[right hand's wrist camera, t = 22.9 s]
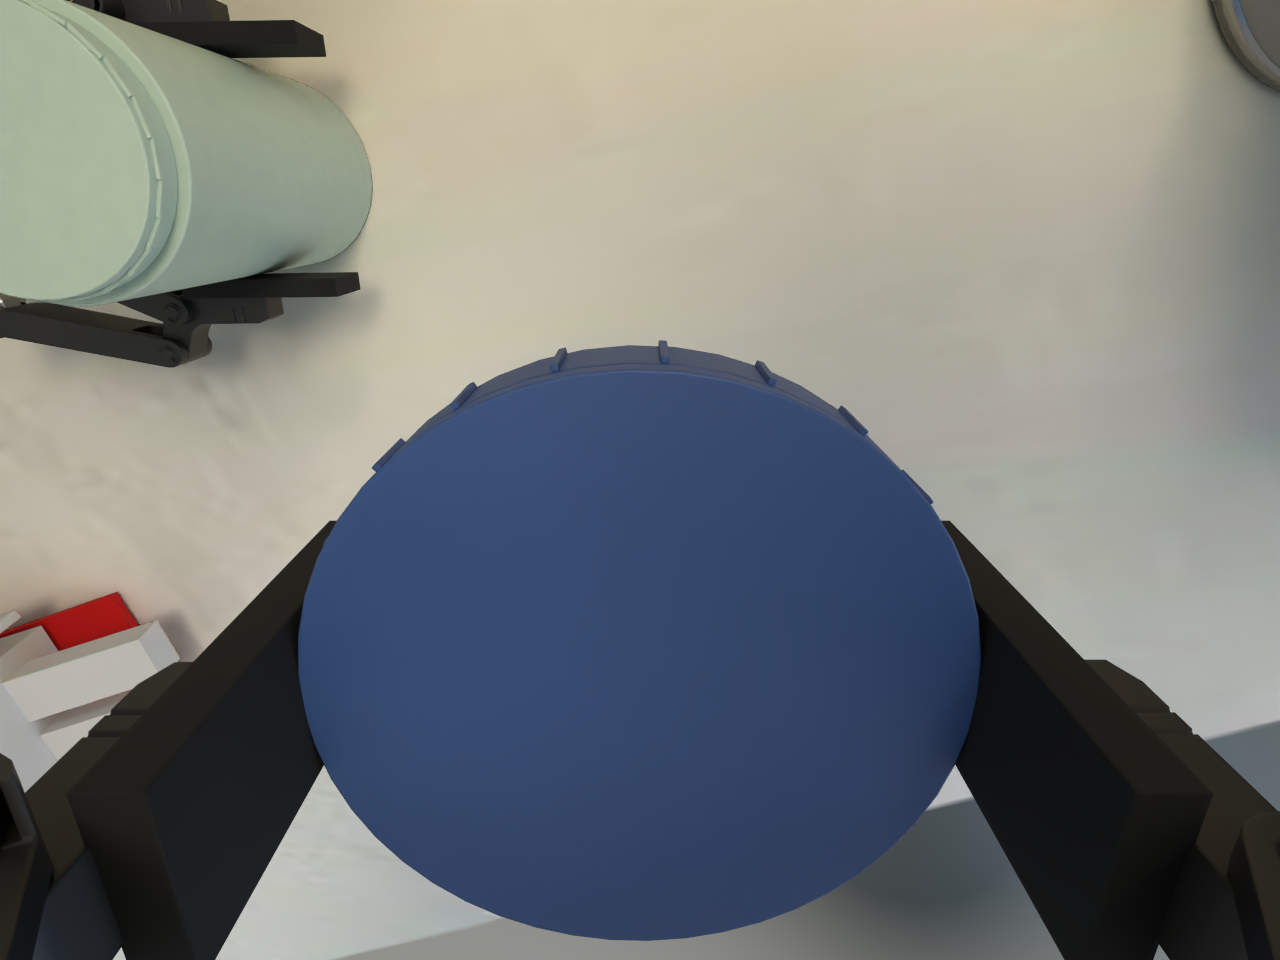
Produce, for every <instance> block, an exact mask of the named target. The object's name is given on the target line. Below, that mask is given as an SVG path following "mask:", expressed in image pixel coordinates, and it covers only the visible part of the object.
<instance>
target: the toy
mask: <svg viewBox="0 0 1280 960" xmlns="http://www.w3.org/2000/svg"><path fill="white" fill-rule="evenodd" d="M20 618H21V616H20V615H19V614H18V612H17V611H16V610H13V611H10V612H8V613H6V614H3V615H1V616H0V753H1V754H3V755H4V756H6V757H8V758H9V759H11V760H12V761H13V764H14V767H15V769H16V772H17V774H18V777H19V779H20V782H21V784H22V787H23V790H24V792H26V791H27V790H28V789H29V788H30V787H31V786H32V785H33V784H34V783H36V782H37V781H38V780H39V779H40V778H41V777H42V776H43V775H44V774H45V773H46V772H47V771H48V770H49V769H50V768H51V767H52V766H53V765H54V764H55V763H56V762H57V761H58V760H59V759H60V758H61V757H63V756H64V755H65V754H66V753H67V752H68V751H69V750H70V749H71V748H72V747H73V746H74V745H75V744H76V743H77V742H78V741H79V740H80V739H81V738H82V737H87V736H88V731H89V730H91V729H92V728H93V727H94V726H95V725H96V724H97V723H98V722H99V721H100V720H101V719H102V718H103V717H104V716H105V715H110V713H111V709H112V708H113V707H114V706H115V705H116V704H118V703H119V702H120V701H121V700H122V699H123V698H124V697H125V696H126V695H127V694H128V693H129V692H130V691H131V690H132V689H133V688H134V687H135V686H136V685H137V684H139V683H140V682H142V681H144V680H145V679H147V678H149V677H151V676H152V675H154V674H156V673H157V672H159V671H161V670H162V669H164V668H166V667H167V666H169V665H171V664H172V663H174V662H178V661H179V659H180V657H179V655H178V654H177V652H176V650H175V649H174V647H173V645H172V644H171V642H170V640H169V639H168V637H167V635H166V634H165V632H164V630H163V629H162V627H161V625H160V624H159V622H158V620H156V621H153V622H149V623H146V624H143V625H140V626H138V624H137V623H136V621H135V620H134V618H133V616H132V615H131V613H130V612H129V610H128V609H127V607H126V606H125V604H124V603H123V601H122V599H121V598H120V596H119V595H118V593H117V592H116V593H113V594H110V595H107V596H104V597H101V598H98V599H95V600H93V601H90V602H87V603H84V604H81V605H78V606H75V607H72V608H70V609H67V610H64V611H61V612H58V613H55V614H52V615H49V616H46V617H44V618H41V619H38V620H35V621H32V622H29V623H26V624H23V625H21V626H18V627H15V628H12V629H9V630H6V631H4V630H5V629H7V628H8V627H9V626H11V625H12V624H13V623H15V622H16V621H17V620H18V619H20Z"/></svg>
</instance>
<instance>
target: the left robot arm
mask: <svg viewBox="0 0 1280 960" xmlns="http://www.w3.org/2000/svg"><path fill="white" fill-rule="evenodd" d="M66 1H71V0H66ZM71 2H72V3H75V4H78V5H80V6H83V7H86V8H89V9H92V10H95V11H98V12H100V13H103V14H106V15H109V16H112V17H115V18H118V19H120V20H123V21H126V22H129V23H132V24H135V25H138V26H140V27H143V28H146V29H149V30H152V31H155V32H157V33H160V34H163V35H166V36H169V37H172V38H175V39H177V40H180V41H183V42H186V43H189V44H192V45H195V46H197V47H200V48H203V49H206V50H209V51H212V52H215V53H217V54H220V55H223V56H226V57H229V58H268V57H326V52H325V45H324V39H323V35H321V34H319V33H317V32H315V31H313V30H312V29H310V28H308V27H306V26H304V25H302V24H300V23H298V22H296V21H294V20H271V21H230V19H229V13H228V8H227V5H225V4H223V3H221V2H219V1H216V0H73V1H71ZM357 290H360V283H359V276H358V272H345V273H271V274H258V275H253V276H248V277H242V278H237V279H232V280H227V281H222V282H217V283H211V284H206V285H201V286H196V287H191V288H186V289H180V290H175V291H170V292H165V293H160V294H155V295H149V296H144V297H139V298H134V299H129V300H123V301H118V303H120V304H122V305H125V306H127V307H129V308H132V309H134V310H137V311H139V312H141V313H144V314H146V315H149V316H151V317H153V318H156V319H158V320H160V321H163V322H164V324H159V323H153V322H148V321H143V320H137V319H132V318H127V317H121V316H116V315H111V314H105V313H100V312H95V311H89V310H84V309H79V308H73V307H68V306H63V305H57V304H50V303H28V304H26V299H24V298H19V297H14V296H9V295H5V294H2V293H0V338H4V337H7V338H12V339H18V340H23V341H28V342H34V343H39V344H45V345H50V346H56V347H61V348H67V349H72V350H77V351H83V352H88V353H94V354H99V355H105V356H110V357H116V358H121V359H126V360H132V361H137V362H143V363H148V364H154V365H159V366H165V367H176V366H178V365H181V364H184V363H187V362H190V361H193V360H196V359H198V358H201V357H204V356H206V355H208V354H209V353H210V352H211V350H212V343H211V340H210V339H209V337H208V333H209V328H210V326H211V324H235V323H261V322H264V321H267V320H270V319H273V318H276V317H278V316H280V315H282V314H284V312H283V306H282V301H281V297H338V296H341V295H344V294H347V293H350V292H354V291H357Z"/></svg>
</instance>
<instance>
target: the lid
mask: <svg viewBox="0 0 1280 960" xmlns="http://www.w3.org/2000/svg"><path fill="white" fill-rule="evenodd" d="M867 433H868V431H867V429H866V428H865V427H864V426H863V425H862V424H861V423H860V422H859V421H858V420H857V419H856V418H855V417H854V416H853V415H852V414H851V413H850V412H849V411H848V410H847V409H845V408H844V407H843V406H841V407H840V408H839V409H838V410H837V409H836V408H834V407H833V406H831V405H830V404H828V403H827V402H825V401H824V400H822V399H821V398H819V397H817V396H816V395H814V394H813V393H811V392H810V391H808V390H807V389H805V388H804V387H802V386H800V385H798V384H796V383H794V382H791V381H789V380H787V379H785V378H783V377H781V376H778V375H776V374H774V373H772V372H771V371H770V370H769V369H768V368H767V366H766V365H765V364H764V362H761V361H758V360H757V362H756V364H755V366H754V365H751V364H748V363H745V362H742V361H738V360H735V359H732V358H729V357H725V356H722V355H718V354H713V353H707V352H701V351H695V350H689V349H683V348H677V347H668V346H667V341H661V340H660V341H659V347H658V346H630V345H629V346H618V347H608V348H597V349H587V350H581V351H576V352H572V353H568V354H567V350H566V348H562V349H559V350H558V351H557V353H556V355H555V357H550V358H546V359H542V360H538V361H536V362H533V363H530V364H528V365H525V366H522V367H520V368H517V369H514V370H512V371H509V372H506V373H504V374H501V375H499V376H497V377H495V378H493V379H491V380H489V381H487V382H486V383H484V384H482V385H480V386H478V387H477V386H476V384H475V383H474V382H472V383H471V384H469V385H468V386H467V387H466V388H465V389H464V390H463V391H462V392H461V393H460V394H459V395H458V396H457V397H456V398H455V400H454V401H453V402H452V403H451V404H449V405H448V406H447V407H445V408H444V409H442V410H441V411H440V412H438V413H437V414H436V415H434V416H433V417H432V418H430V419H429V420H428V421H426V422H425V423H424V424H423V425H422V426H421V427H420V428H419V429H418V430H417V431H416V432H415V433H414V434H413V435H412V436H411V437H410V438H409V439H408V440H407V441H406V442H405V441H404V440H403V439H400V440H399V441H398V442H397V443H396V444H395V445H394V446H393V447H392V448H391V449H390V450H389V451H388V452H387V453H385V454H384V455H383V456H382V457H381V458H380V459H379V460H378V461H377V462H376V463H375V465H374V466H373V467H372V469H373V470H374V471H376V473H375V474H374V475H373V476H372V477H371V478H370V479H369V480H368V481H367V482H366V483H365V484H364V485H363V486H362V488H361V489H360V490H359V492H358V493H357V495H356V496H355V497H354V499H353V500H352V501H351V503H350V504H349V505H348V507H347V508H346V509H345V511H344V512H343V513H342V515H341V516H340V517H339V519H338V520H337V521H336V523H335V525H334V527H333V529H332V531H331V533H330V535H329V536H328V537H327V538H326V539H325V541H324V544H323V548H322V550H321V552H320V554H319V556H318V558H317V561H316V564H315V567H314V570H313V573H312V576H311V579H310V582H309V585H308V588H307V591H306V594H305V597H304V603H303V609H302V615H301V621H300V627H299V634H298V676H299V681H300V687H301V692H302V697H303V702H304V708H305V713H306V717H307V721H308V725H309V728H310V731H311V735H312V738H313V741H314V744H315V747H316V749H317V751H318V753H319V755H320V757H321V759H322V761H323V763H324V765H325V767H326V769H327V771H328V774H329V776H330V778H331V779H332V781H333V782H334V784H335V785H336V787H337V788H338V790H339V791H340V793H341V794H342V796H343V797H344V799H345V800H346V802H347V803H348V805H349V806H350V808H351V809H352V811H353V812H354V813H355V814H356V815H357V816H358V817H359V819H360V820H361V821H362V822H363V823H364V824H365V825H366V827H367V828H368V829H369V830H370V831H371V832H372V833H373V835H374V836H375V837H376V838H377V839H378V840H379V841H381V842H382V843H383V844H384V845H385V846H386V847H387V848H388V849H389V850H391V851H392V852H393V853H394V854H395V855H396V856H397V857H398V858H399V859H401V860H402V861H403V862H404V863H406V864H407V865H408V866H410V867H411V868H413V869H414V870H415V871H417V872H418V873H420V874H421V875H422V876H424V877H425V878H427V879H428V880H430V881H431V882H432V883H434V884H436V885H437V886H439V887H441V888H443V889H445V890H446V891H448V892H450V893H452V894H454V895H455V896H457V897H459V898H461V899H463V900H464V901H466V902H469V903H471V904H473V905H476V906H478V907H480V908H483V909H485V910H487V911H489V912H492V913H494V914H496V915H499V916H501V917H505V918H508V919H511V920H514V921H517V922H520V923H524V924H527V925H530V926H533V927H536V928H541V929H546V930H550V931H555V932H560V933H564V934H569V935H574V936H583V937H591V938H600V939H608V940H641V941H651V940H666V939H680V938H690V937H695V936H702V935H708V934H714V933H720V932H725V931H729V930H733V929H737V928H741V927H744V926H748V925H752V924H756V923H760V922H762V921H765V920H768V919H770V918H773V917H776V916H779V915H781V914H784V913H787V912H789V911H792V910H795V909H797V908H799V907H801V906H803V905H805V904H807V903H809V902H811V901H813V900H815V899H817V898H819V897H821V896H823V895H826V894H828V893H829V892H831V891H832V890H834V889H836V888H837V887H839V886H841V885H842V884H844V883H845V882H847V881H848V880H850V879H852V878H853V877H855V876H857V875H858V874H860V873H861V872H862V871H863V870H865V869H866V868H867V867H868V866H870V865H871V864H872V863H874V862H875V861H876V860H877V859H879V858H880V857H881V856H882V855H884V854H885V853H886V852H887V851H889V850H890V849H891V848H892V847H893V846H894V845H895V844H896V843H897V842H898V841H899V840H900V839H901V838H902V837H903V836H904V835H905V834H906V833H907V832H908V831H909V830H910V829H911V828H912V827H913V826H914V825H915V823H916V822H917V821H918V819H919V818H920V817H921V816H922V814H923V813H924V812H925V810H926V809H927V808H928V807H929V805H930V804H931V803H932V801H933V800H934V799H935V798H936V796H937V795H938V793H939V791H940V790H941V788H942V786H943V784H944V783H945V781H946V779H947V778H948V776H949V774H950V772H951V771H952V769H953V767H954V766H955V764H956V761H957V759H958V756H959V754H960V751H961V749H962V747H963V744H964V742H965V739H966V737H967V734H968V732H969V729H970V725H971V721H972V717H973V712H974V708H975V703H976V698H977V693H978V687H979V676H980V665H981V648H980V634H979V620H978V614H977V610H976V606H975V601H974V597H973V593H972V589H971V585H970V580H969V577H968V575H967V573H966V570H965V568H964V565H963V563H962V561H961V558H960V556H959V553H958V551H957V549H956V546H955V544H954V541H953V540H952V538H951V537H950V535H949V533H948V532H947V530H946V528H945V527H944V525H943V524H942V522H941V520H940V519H939V517H938V515H937V514H936V512H935V511H934V509H933V507H932V506H931V504H932V503H933V501H932V499H931V498H930V497H929V496H928V495H927V494H926V493H925V492H924V490H923V489H922V488H921V487H920V486H919V485H918V484H917V483H916V482H915V481H914V480H913V479H912V478H911V477H910V476H909V475H908V474H907V473H906V472H905V471H904V470H900V469H899V468H898V466H897V465H896V464H894V463H893V461H892V460H891V459H890V458H889V457H888V456H887V455H886V454H885V453H884V452H883V451H882V450H881V449H880V448H879V447H878V446H877V445H876V444H875V443H874V442H873V441H872V440H871V439H870V438H869V437H868V436H867V435H866V434H867Z"/></svg>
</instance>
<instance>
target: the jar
mask: <svg viewBox="0 0 1280 960" xmlns="http://www.w3.org/2000/svg"><path fill="white" fill-rule="evenodd" d="M371 196H372V176H371V170H370V164H369V161H368V157H367V154H366V151H365V148H364V146H363V144H362V141H361V139H360V137H359V135H358V134H357V132H356V130H355V128H354V127H353V125H352V124H351V123H350V121H349V120H348V118H347V117H346V116H345V115H344V114H343V113H342V111H341V110H340V109H339V108H338V107H337V106H336V105H335V104H334V103H332V102H331V101H330V100H329V99H328V98H327V97H325V96H324V95H322V94H321V93H319V92H318V91H316V90H315V89H313V88H311V87H309V86H307V85H305V84H302V83H300V82H297V81H294V80H292V79H289V78H286V77H283V76H280V75H277V74H275V73H272V72H269V71H266V70H263V69H260V68H257V67H255V66H252V65H249V64H246V63H243V62H240V61H237V60H235V59H232V58H229V57H226V56H223V55H220V54H217V53H215V52H212V51H209V50H206V49H203V48H200V47H197V46H195V45H192V44H189V43H186V42H183V41H180V40H177V39H175V38H172V37H169V36H166V35H163V34H160V33H157V32H155V31H152V30H149V29H146V28H143V27H140V26H138V25H135V24H132V23H129V22H126V21H123V20H120V19H118V18H115V17H112V16H109V15H106V14H103V13H100V12H98V11H95V10H92V9H89V8H86V7H83V6H80V5H78V4H75V3H72V2H69V1H66V0H0V293H2V294H5V295H9V296H14V297H19V298H24V299H34V300H38V301H47V302H52V303H56V304H61V305H72V306H96V305H103V304H108V303H113V302H118V301H123V300H129V299H134V298H139V297H144V296H149V295H155V294H160V293H165V292H170V291H175V290H180V289H186V288H191V287H196V286H201V285H206V284H211V283H217V282H222V281H227V280H232V279H237V278H242V277H248V276H253V275H258V274H263V273H268V272H273V271H279V270H284V269H289V268H294V267H299V266H305V265H310V264H315V263H319V262H322V261H325V260H328V259H330V258H332V257H334V256H336V255H338V254H339V253H340V252H342V251H343V250H344V249H346V248H347V247H348V246H349V245H350V244H351V243H352V242H353V241H354V239H355V238H356V237H357V235H358V234H359V233H360V231H361V229H362V227H363V225H364V223H365V221H366V218H367V215H368V213H369V208H370V204H371Z"/></svg>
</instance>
